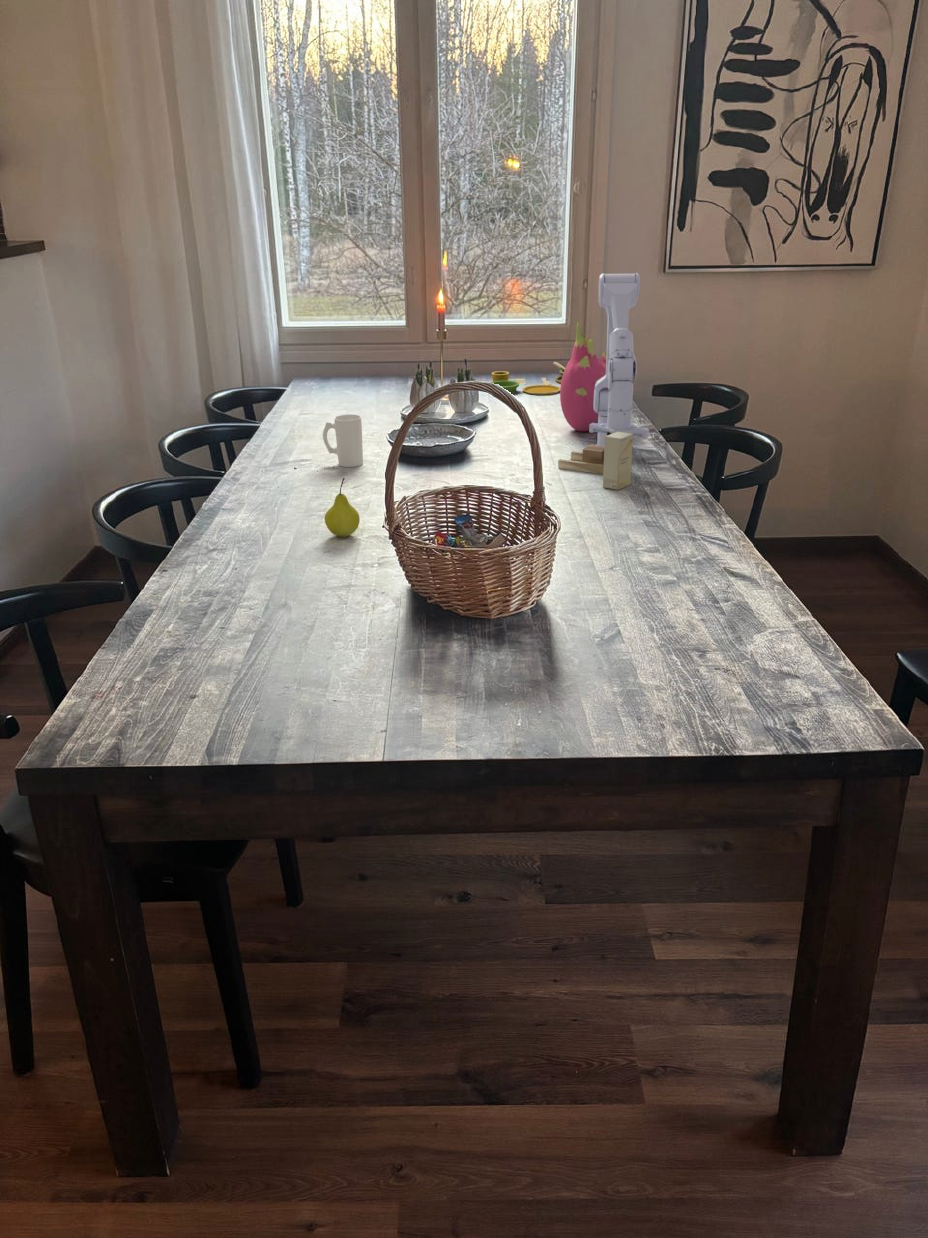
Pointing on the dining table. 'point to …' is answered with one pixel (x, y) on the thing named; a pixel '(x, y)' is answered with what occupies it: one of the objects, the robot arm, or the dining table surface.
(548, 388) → the tableware set
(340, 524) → the fruit
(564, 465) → the light wooden stepped bars
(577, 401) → the pitaya
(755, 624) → the dining table surface
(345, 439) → the mug
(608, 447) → the skincare box
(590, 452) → the block
